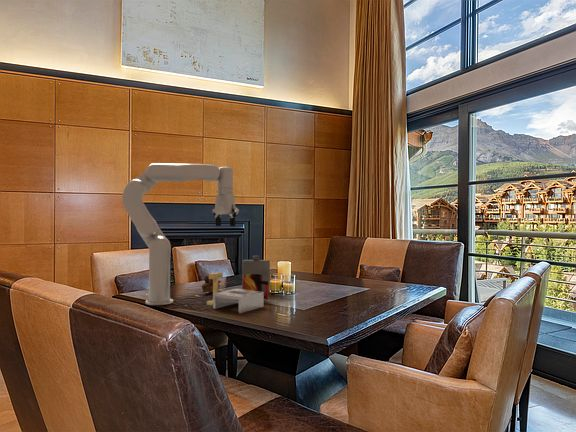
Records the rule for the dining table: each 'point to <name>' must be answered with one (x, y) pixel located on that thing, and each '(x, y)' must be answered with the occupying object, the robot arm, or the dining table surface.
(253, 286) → the mug
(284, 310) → the dining table surface
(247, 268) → the flask
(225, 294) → the white slotted holder
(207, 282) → the wooden carving
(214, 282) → the tall wooden post
